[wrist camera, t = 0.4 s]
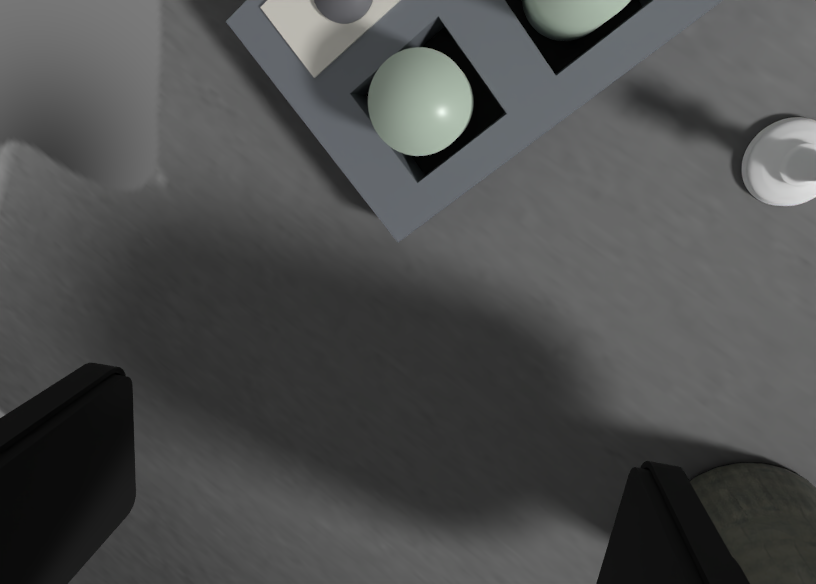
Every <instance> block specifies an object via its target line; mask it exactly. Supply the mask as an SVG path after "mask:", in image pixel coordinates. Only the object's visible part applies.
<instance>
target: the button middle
mask: <svg viewBox="0 0 816 584" xmlns="http://www.w3.org/2000/svg"><path fill="white" fill-rule="evenodd" d="M630 1H631V0H522V6H523V10H524V13H525V15H526V18H527V19H528V21H529V23H530V24H531V25H532V27H533V28H534V29H535V30H536V31H537V32H539V33H540V34H541V35H543V36H545V37H547V38H549V39H552V40H557V41H572V40H576V39H579V38H582V37H584V36H586V35H588V34H590V33H591V32H592V31H594V30H595V29H597V28H598V27H599V26H601V25H602V24H603V23H605V22H606V21H608V20H609V19H610V18H612V17H613V16H614V15H616V14H617V13H618V12H620V11H621V10H622V9H623V8H624V7H625V6H626V5H627V4H628V3H629V2H630Z"/></svg>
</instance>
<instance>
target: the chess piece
mask: <svg viewBox="0 0 816 584" xmlns="http://www.w3.org/2000/svg"><path fill="white" fill-rule="evenodd" d="M742 178H743V182H744V184H745V186H746V188H747V190H748V191H749V192H750V193H751V194H752V195H753V196H754V197H755V198H756V199H758V200H760V201H761V202H764V203H766V204H770V205H776V206H792V205H798V204H801V203H804V202H807V201H809V200H811V199H813V198H815V197H816V121H815V120H812V119H809V118H803V117H792V118H786V119H782V120H779V121H777V122H774V123H772V124H771V125H769V126H767V127H766V128H764V129H763V130H762V131H760V132H759V133H758V134H757V135H756V136H755V137H754V139H753V140H752V141H751V142H750V144H749V146H748V147H747V149H746V151H745V154H744V157H743V160H742Z"/></svg>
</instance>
